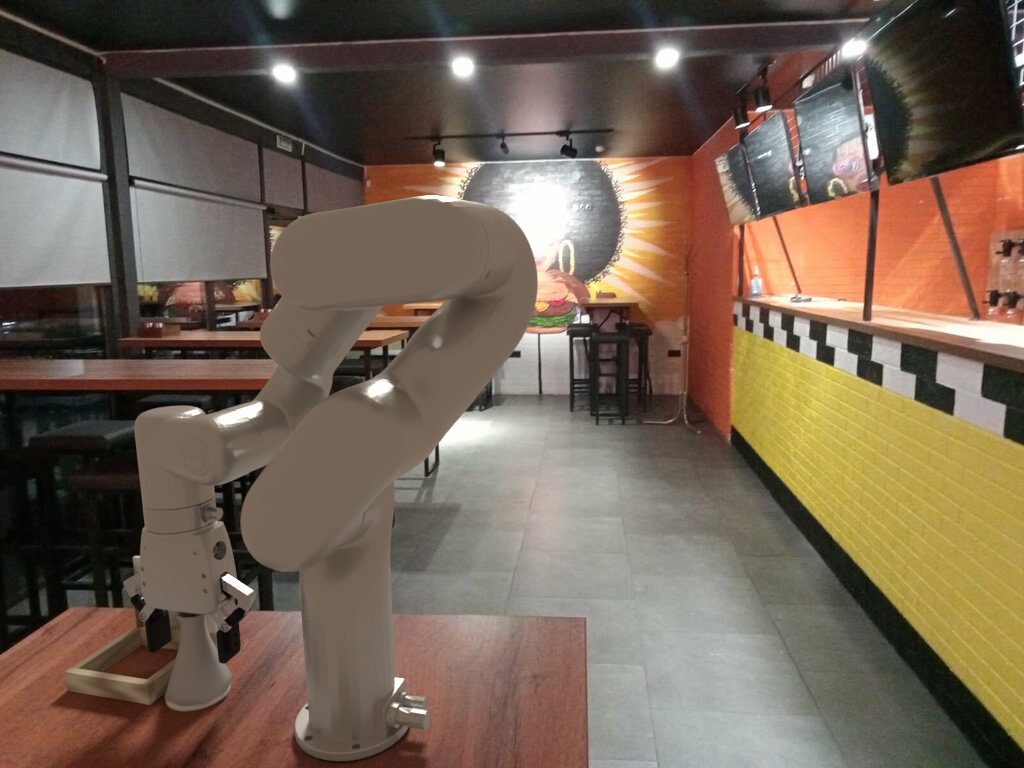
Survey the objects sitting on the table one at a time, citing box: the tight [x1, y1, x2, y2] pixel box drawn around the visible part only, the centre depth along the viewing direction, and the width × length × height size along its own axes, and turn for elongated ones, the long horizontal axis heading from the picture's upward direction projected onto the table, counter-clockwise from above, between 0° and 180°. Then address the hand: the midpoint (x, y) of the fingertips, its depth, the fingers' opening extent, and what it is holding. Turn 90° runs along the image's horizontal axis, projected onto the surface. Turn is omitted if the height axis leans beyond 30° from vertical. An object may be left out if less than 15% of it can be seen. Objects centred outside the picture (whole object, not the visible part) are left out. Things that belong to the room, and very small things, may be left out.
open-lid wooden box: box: [64, 555, 219, 706], centre depth 90 cm, size 12×13×12 cm
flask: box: [164, 612, 234, 705], centre depth 85 cm, size 7×7×10 cm
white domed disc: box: [164, 681, 232, 713], centre depth 86 cm, size 7×7×1 cm
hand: (194, 652), depth 85 cm, fingers open, 9 cm apart
